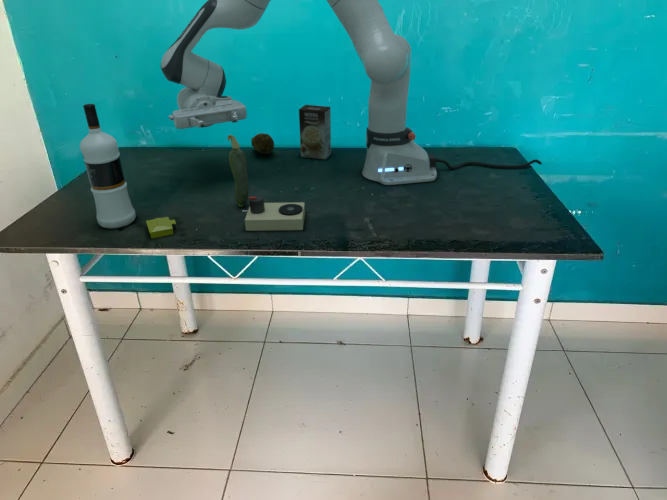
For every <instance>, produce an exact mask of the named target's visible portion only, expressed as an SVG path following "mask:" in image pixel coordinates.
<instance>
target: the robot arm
mask: <svg viewBox="0 0 667 500" xmlns="http://www.w3.org/2000/svg"><path fill="white" fill-rule="evenodd" d="M271 1H272V0H207V1H205V2H204V3H203V5H202V6H201V7H200V8H199V10H198V11H197V12H196V13H195V15H194V16H193V17H192V18H191V20H190V21H189V22H188V24H187V25H186V27H185V28H184V30H182V32H181V33H180V35H179V36H178V37H177V38H176V39H175V41H174V42H173V43H172V44H171V45H170V47H168V49H166V51H165V52H164V54H163V56H162V58H161V61H160V69H161V72H162V74H163V75H164V78H165V79H166V80H167V81H168V82H172V83H175V84H177V85H182V86H183V87H184V88H182V89H180V90H179V91H178V93H177V95H176V103H177V108H178V109H176V110H173V111H172V114H169V115H168V119H169V120H170V121H173V125H174V127H175V128H176V129H178V130H184V129H191V128H198V129H201V128H209V127H211V126H213V125H217V124H222V123H223V124H224V123H230V122H231V123H239V121H242V120H243V121H244V120H246V119H247V117H248V113H247V106H246V105H245V104H244V103H242V102H240V101H238V100H236V99H233V98H232V96H230V95H223V94H224V92H225V89H226V85H227V77H226V73H225V70H224V68H223V67H222V65H220V64H218V63H216V62H214V61H211V60H209V59H208V58H205V57H203V56H201V55H198V53H197V54H196V53H195V52H193V50H194V48H195V47H196V46H197V44H198V43H199V42H200V41H201V39H202V38H203V37H204V35H205V34H206V33H207V32H209V31H210V30H212V29H230V30H237V31H238V30H239V31H241V30H247V29H250V28H253V27H254V26H256V25H257V24H258V23H259V21H260V20H261V19H262V17H263V15H264V13H265V12H266V10H267V8H268V6H269V4H270V2H271ZM326 2H327V4H328V5H329V7H330V8H331V10H332V12H333V13H334V15H335V16H336V18H337V19H338V21H339V22H340V24H341V25H342V28H344V30H345V31H346V33H347V35H348V37H349V39H350V41H351V43H352V46H353V47H354V49H355V51H356V54H357V56H358V57H359V60H360V62H361V64H362V66H363V68H364V70H365V73H366V76H367V77H368V78H369V79H370V87H369V96H368V100H367V102H368V105H367V127H366V131H365V145H366V153H365V154H366V155H365V161H364V166H363V169H362V172H361V174H362V176H363V177H364V178H366V179H367V180H370V181H374V182H378V183H380V184H381V185H384V186H394V185H404V184H417V183H426V182H427V183H428V182H434V181H435V180H436V179H437V177H438V172H437V169H436V166H437V163H440V164H441V163H442V164H444V165H445V166H446V167H447V169H449V170H458V169H461V168H463V167H465V166H469V165H471V166H472V165H473V166H483V167H487V168H497V169H498V168H499V169H522V168H526V167H529V166H530V165H532V164H535V163H536V164H538V165H543V163H542V161H541V160H539V159H532V160H530V161H528V162H527V163H524V164H514V165H513V164H512V165H508V164H493V163H488V162H480V161H466V162H461V163H460V164H458V165H457V166H452V165H451V164H450V163H449V162H448V161H446V160H444V159H441V158H437V157H436V156H435V155H434V154H433V153H432V152H431V153H429V152H427V151H426V150H425V149H424V148H423V147H422V146H421V145H419V144H418V143H416V142H415V139H416V133H415V132H413V130H412V129H411V127H407V113H408V111H407V109H408V96H409V87H410V78H411V66H412V55H413V54H412V48H411V45H410V43H409V41H408V40H407V39H406V38H404V36H401V35H400V34H395V32H394V31H393V28H392V27H391V24H390V23H389V21H388V19H387V17H386V14H385V12H384V9H383V6H382V5H381V3H380V2H379V1H378V0H326Z"/></svg>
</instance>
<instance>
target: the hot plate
mask: <svg viewBox="0 0 667 500" xmlns="http://www.w3.org/2000/svg"><path fill="white" fill-rule="evenodd" d="M286 204H297V205H300V206H302V208H303V211H302V212H301V213H300V214H297V215H292V216H287V215H282V214H280V213H279V208H280V207H281V206H283V205H286ZM264 206H265V211H264V212H263V213H260V214H254V213H251V211H250V206H249V207H248V209H246V210H245V209H243V210H241V211H242V212H247V213H246V216H245V218H244V226H245V231H247V232H251V231H252V232H255V231H257V232H259V231H261V232H262V231H264V232H265V231H303V230H304V223H305V217H306V204H305V202H304V201H301V202H299V201H297V202H264Z"/></svg>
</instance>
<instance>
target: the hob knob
mask: <svg viewBox="0 0 667 500" xmlns="http://www.w3.org/2000/svg"><path fill="white" fill-rule="evenodd" d="M248 201H249V207H250V211H251V213H254V214H260V213H263V212H264V211H265V206H264V203H265V198H264V196H262V195H253V196H248Z"/></svg>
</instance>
